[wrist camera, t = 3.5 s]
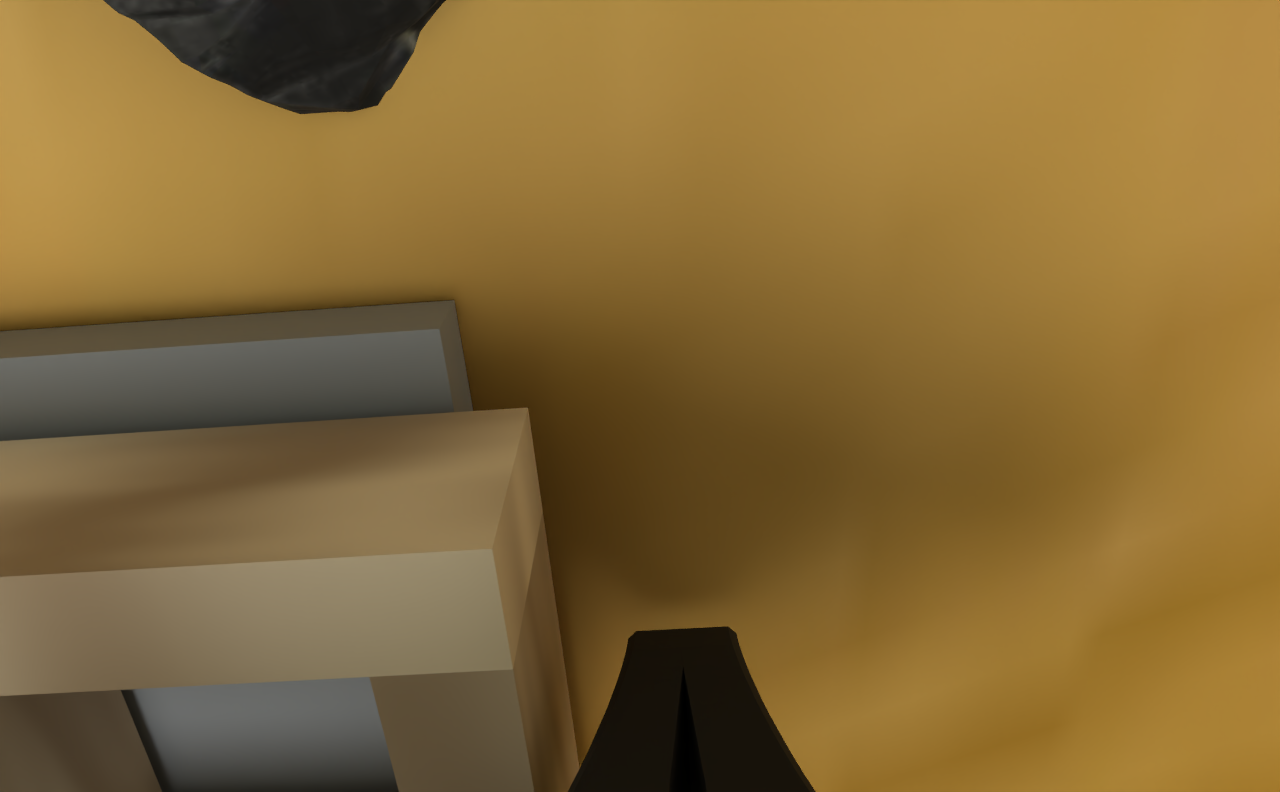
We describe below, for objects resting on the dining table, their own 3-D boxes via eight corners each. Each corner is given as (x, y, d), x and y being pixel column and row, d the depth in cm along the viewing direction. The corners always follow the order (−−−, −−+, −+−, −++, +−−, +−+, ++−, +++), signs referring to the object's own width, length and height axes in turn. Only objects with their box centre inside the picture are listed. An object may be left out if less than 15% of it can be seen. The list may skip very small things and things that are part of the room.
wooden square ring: (528, 407, 12) (491, 549, 9) (591, 852, 16) (578, 1049, 13) (-96, 447, 12) (-305, 594, 10) (103, 873, 16) (-8, 1069, 13)
